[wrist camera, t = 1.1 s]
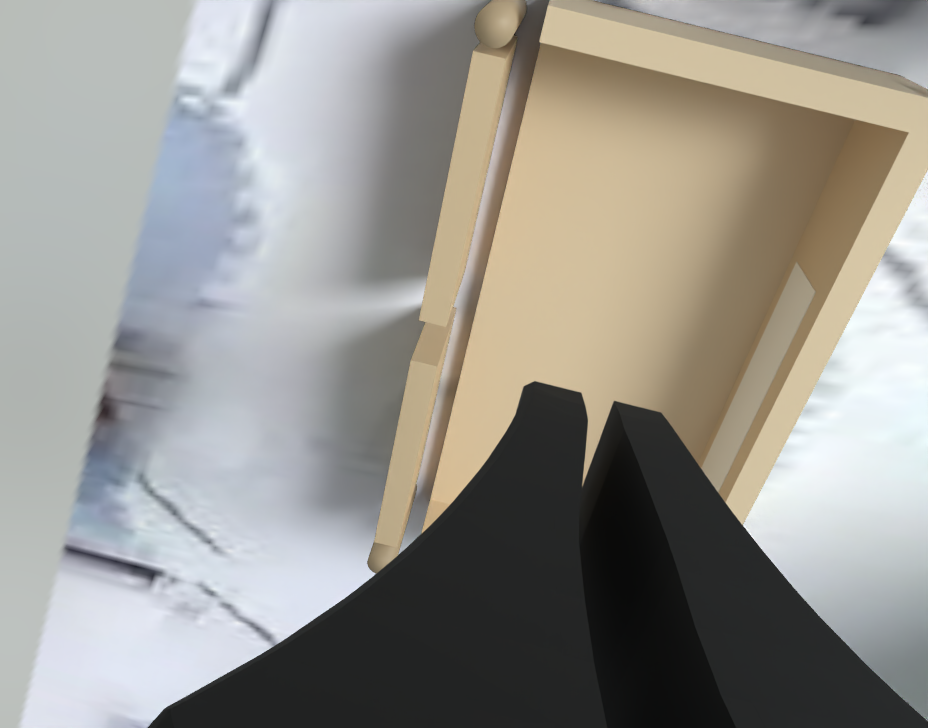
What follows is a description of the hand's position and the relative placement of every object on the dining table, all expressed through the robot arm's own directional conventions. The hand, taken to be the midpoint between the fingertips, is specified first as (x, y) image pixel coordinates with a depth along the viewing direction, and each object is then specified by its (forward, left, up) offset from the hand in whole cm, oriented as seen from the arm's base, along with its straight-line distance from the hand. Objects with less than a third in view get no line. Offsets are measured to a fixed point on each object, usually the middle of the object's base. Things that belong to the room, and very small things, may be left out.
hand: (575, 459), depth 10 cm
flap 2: (+1, +3, -9) cm, 10 cm away
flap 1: (-6, +3, -9) cm, 12 cm away
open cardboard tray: (-2, -2, -9) cm, 10 cm away
